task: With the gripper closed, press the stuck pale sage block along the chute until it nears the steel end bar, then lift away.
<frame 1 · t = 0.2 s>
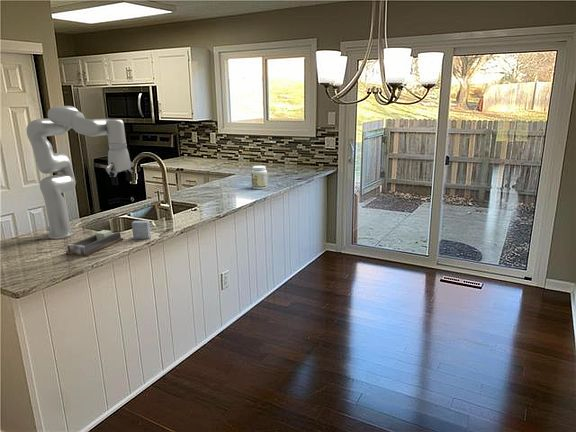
hand: (122, 183, 197), 30 cm above the countertop, tool pointing down, fingers open, 9 cm apart
jammed block: (104, 236, 207), point 3 cm above the countertop, slide at 0.0 cm
chute: (96, 246, 203), on the countertop
medicine box: (142, 238, 215), on the countertop
supplement tub: (259, 188, 328), on the countertop
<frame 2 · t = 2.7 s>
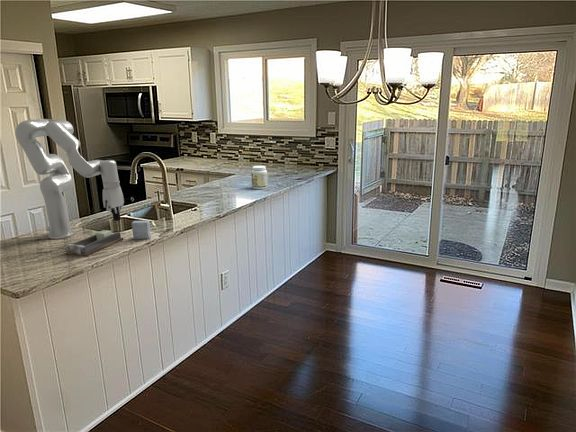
hand: (117, 220, 214), 9 cm above the countertop, tool pointing down, fingers closed
nothing on the countertop moved.
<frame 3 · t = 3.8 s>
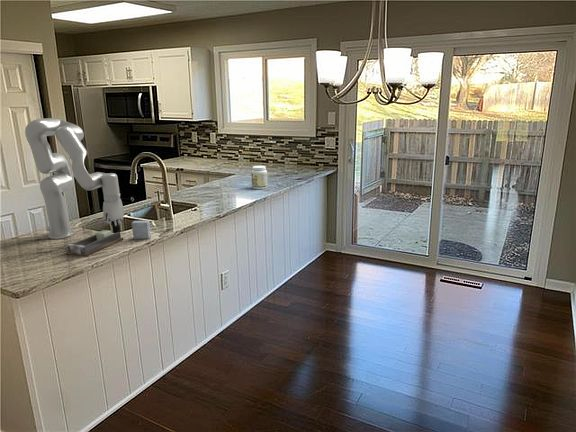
hand: (116, 232, 215), 3 cm above the countertop, tool pointing down, fingers closed
nothing on the countertop moved.
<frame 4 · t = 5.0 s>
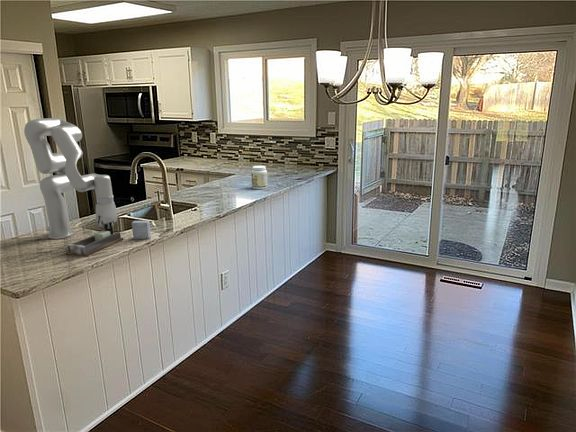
hand: (109, 235, 211), 3 cm above the countertop, tool pointing down, fingers closed
jammed block: (102, 236, 206), point 3 cm above the countertop, slide at 1.0 cm, touching gripper
everything else where it was.
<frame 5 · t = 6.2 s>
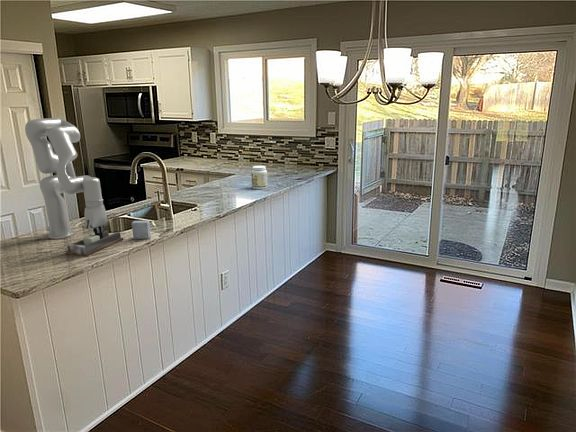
hand: (99, 239, 204), 3 cm above the countertop, tool pointing down, fingers closed
jammed block: (91, 241, 200), point 3 cm above the countertop, slide at 8.0 cm, touching gripper
everything else where it was.
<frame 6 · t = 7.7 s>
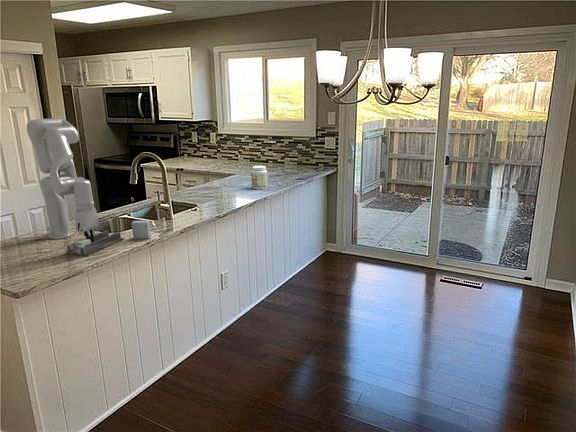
hand: (90, 243, 199), 3 cm above the countertop, tool pointing down, fingers closed
jammed block: (82, 245, 195), point 3 cm above the countertop, slide at 13.6 cm, touching gripper
everything else where it was.
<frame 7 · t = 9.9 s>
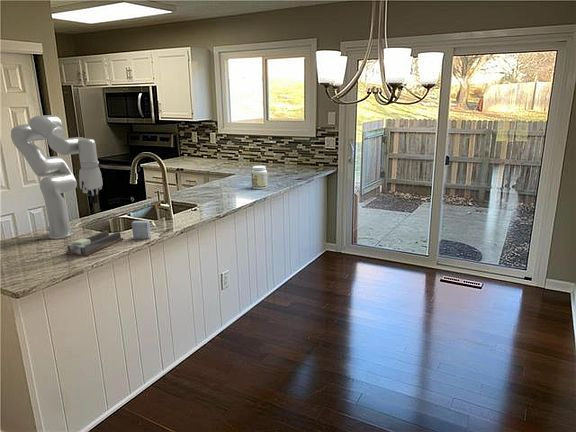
hand: (94, 202, 202), 21 cm above the countertop, tool pointing down, fingers closed
jammed block: (82, 245, 195), point 3 cm above the countertop, slide at 13.7 cm
everything else where it was.
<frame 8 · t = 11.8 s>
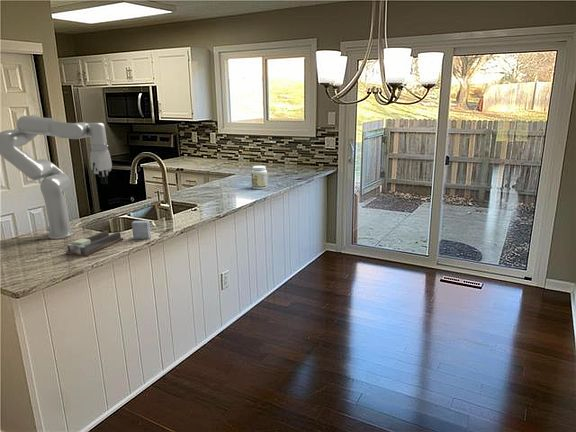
hand: (104, 183, 214), 27 cm above the countertop, tool pointing down, fingers closed
nothing on the countertop moved.
at the end: jammed block slide at 13.7 cm; medicine box moved 0.3 cm from its start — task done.
